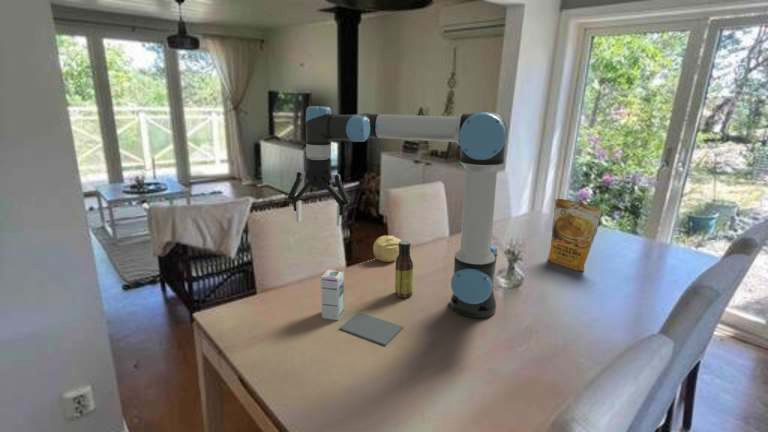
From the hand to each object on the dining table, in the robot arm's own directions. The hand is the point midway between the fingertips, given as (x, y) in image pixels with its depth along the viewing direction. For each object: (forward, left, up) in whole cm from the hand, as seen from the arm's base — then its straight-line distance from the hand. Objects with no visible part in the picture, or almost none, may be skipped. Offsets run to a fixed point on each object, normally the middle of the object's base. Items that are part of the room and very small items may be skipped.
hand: (318, 222), depth 133 cm
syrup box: (-10, +6, -28) cm, 30 cm away
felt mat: (-25, +6, -27) cm, 38 cm away
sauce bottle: (-23, -19, -28) cm, 40 cm away
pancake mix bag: (-70, -83, -28) cm, 112 cm away
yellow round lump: (-2, -44, -28) cm, 52 cm away
